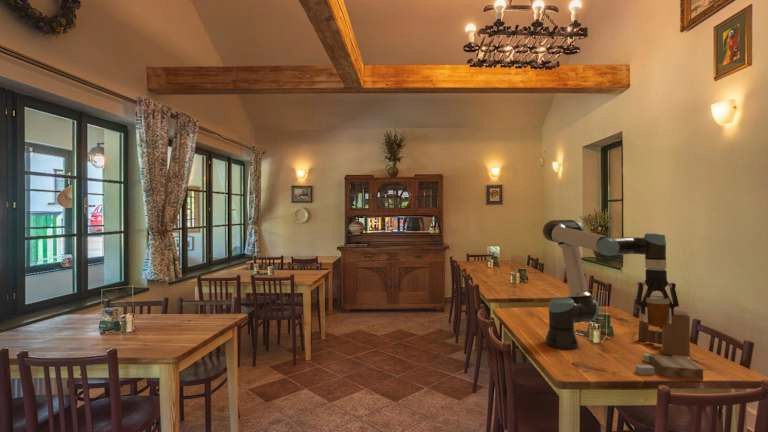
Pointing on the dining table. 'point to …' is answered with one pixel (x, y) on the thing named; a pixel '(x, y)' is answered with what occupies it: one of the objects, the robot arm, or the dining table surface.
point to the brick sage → (647, 357)
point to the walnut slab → (676, 367)
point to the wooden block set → (649, 333)
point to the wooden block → (677, 335)
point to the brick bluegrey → (645, 369)
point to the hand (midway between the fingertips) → (657, 322)
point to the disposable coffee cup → (657, 310)
